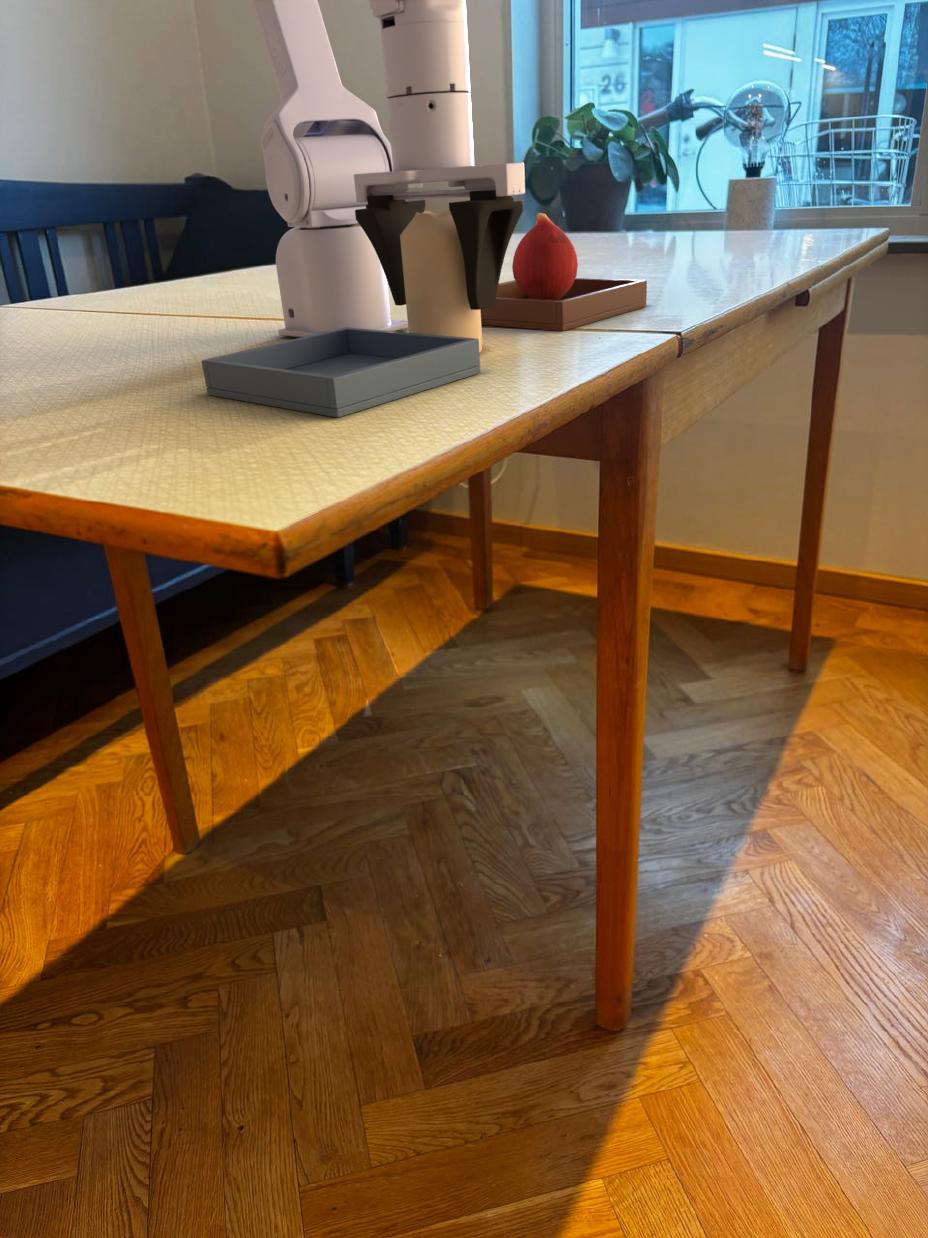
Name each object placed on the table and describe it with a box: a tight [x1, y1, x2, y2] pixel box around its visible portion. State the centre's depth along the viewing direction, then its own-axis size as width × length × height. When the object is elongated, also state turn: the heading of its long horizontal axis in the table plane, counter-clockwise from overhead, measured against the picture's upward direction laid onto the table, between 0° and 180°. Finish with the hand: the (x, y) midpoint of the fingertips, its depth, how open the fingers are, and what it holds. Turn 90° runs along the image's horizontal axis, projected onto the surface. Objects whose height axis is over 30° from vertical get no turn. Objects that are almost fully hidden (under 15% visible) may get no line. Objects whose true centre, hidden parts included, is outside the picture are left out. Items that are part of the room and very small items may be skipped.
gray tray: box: [201, 327, 482, 418], centre depth 62 cm, size 13×13×2 cm
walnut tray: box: [480, 277, 648, 332], centre depth 83 cm, size 13×13×2 cm
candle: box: [400, 209, 483, 353], centre depth 68 cm, size 6×6×10 cm
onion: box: [511, 212, 579, 301], centre depth 81 cm, size 6×6×8 cm
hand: (443, 305), depth 68 cm, fingers open, 7 cm apart
